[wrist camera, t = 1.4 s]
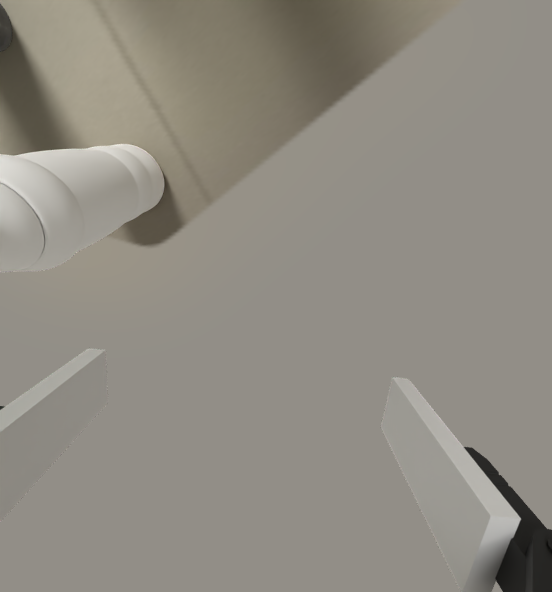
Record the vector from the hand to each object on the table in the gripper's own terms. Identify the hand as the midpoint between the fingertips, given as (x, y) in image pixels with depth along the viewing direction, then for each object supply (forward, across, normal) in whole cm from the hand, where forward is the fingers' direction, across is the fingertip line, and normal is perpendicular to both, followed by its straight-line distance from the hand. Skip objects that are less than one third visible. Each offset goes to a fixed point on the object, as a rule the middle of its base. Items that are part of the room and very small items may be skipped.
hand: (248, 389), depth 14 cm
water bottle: (+24, -16, +10) cm, 31 cm away
